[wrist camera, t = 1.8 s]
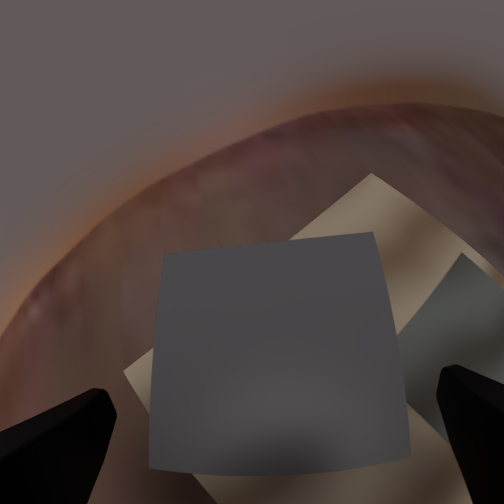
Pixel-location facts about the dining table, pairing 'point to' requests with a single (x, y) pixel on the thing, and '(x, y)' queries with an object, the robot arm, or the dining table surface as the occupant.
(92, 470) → the robot arm
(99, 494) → the dining table surface
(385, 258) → the birch board
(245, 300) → the charcoal cover
